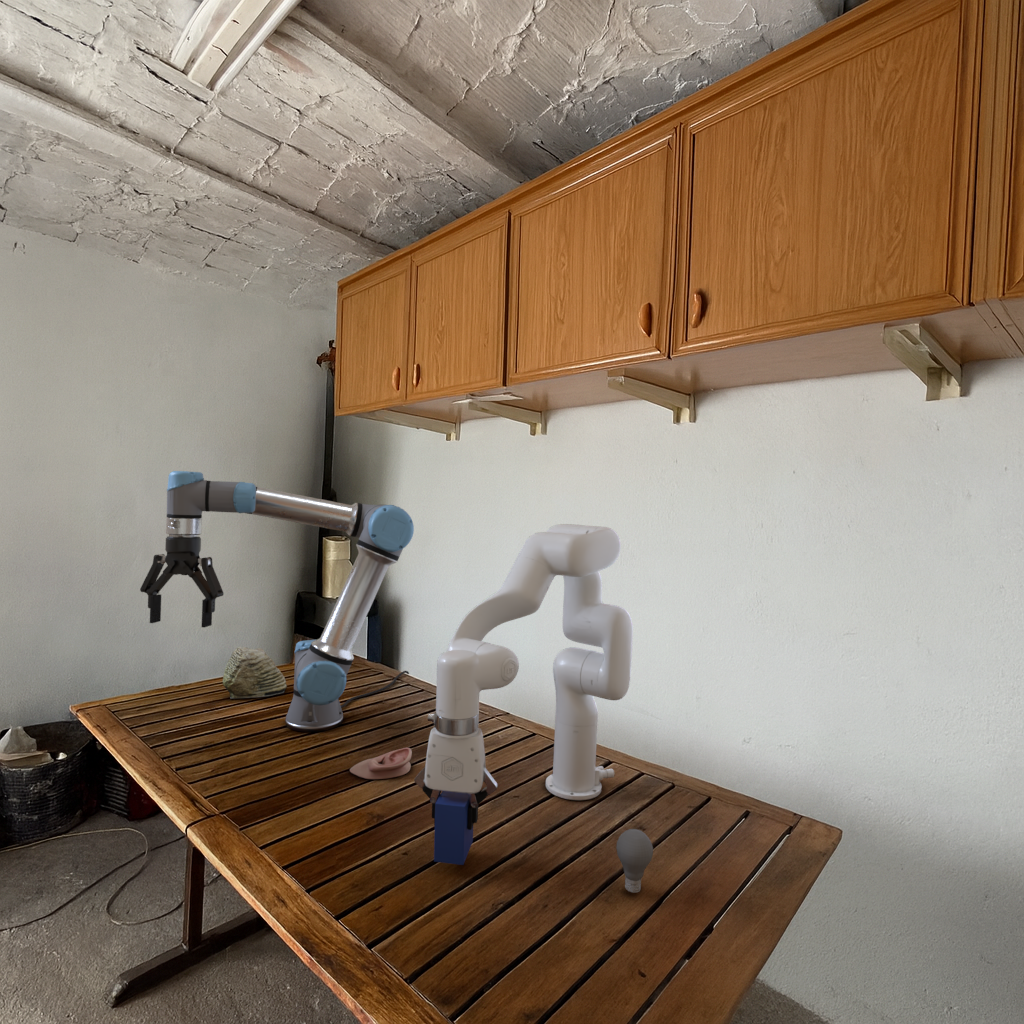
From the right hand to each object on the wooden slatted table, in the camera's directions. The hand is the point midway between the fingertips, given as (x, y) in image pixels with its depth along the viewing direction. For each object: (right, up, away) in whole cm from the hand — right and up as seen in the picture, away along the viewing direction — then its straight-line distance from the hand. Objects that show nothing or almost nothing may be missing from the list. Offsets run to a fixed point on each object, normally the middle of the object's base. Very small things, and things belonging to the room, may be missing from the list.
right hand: (454, 822), depth 112 cm
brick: (0, -5, 0) cm, 5 cm away
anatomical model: (-21, -6, +36) cm, 42 cm away
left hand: (-69, +28, +40) cm, 85 cm away
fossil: (-71, -2, +86) cm, 112 cm away
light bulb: (+30, -9, -6) cm, 32 cm away
